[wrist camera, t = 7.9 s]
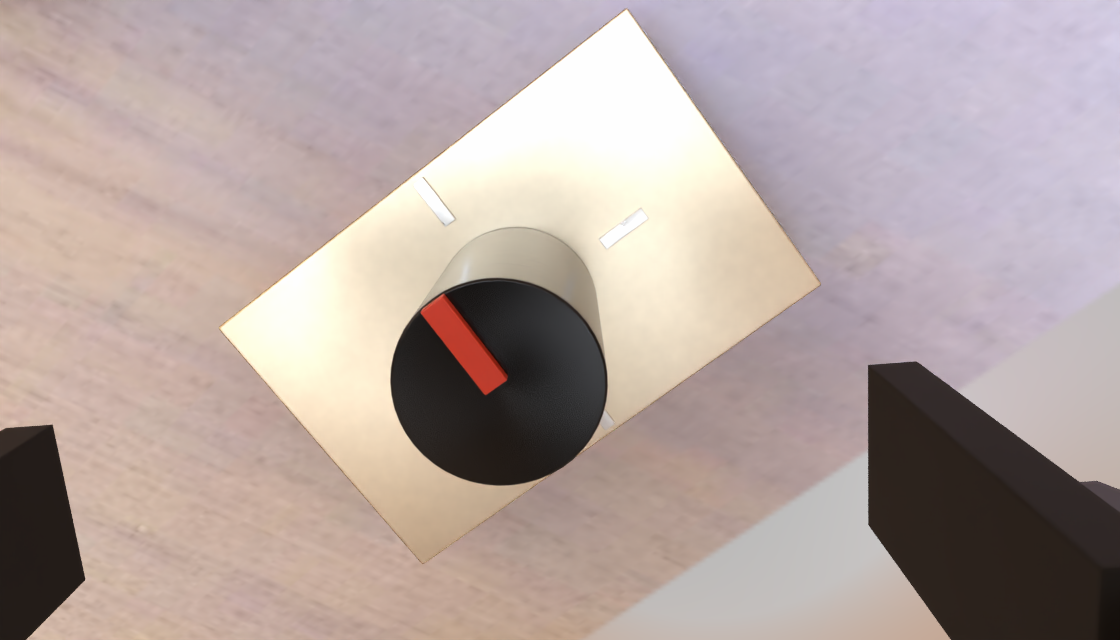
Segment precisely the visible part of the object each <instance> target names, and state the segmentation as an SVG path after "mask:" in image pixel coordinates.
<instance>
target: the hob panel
mask: <svg viewBox="0 0 1120 640" xmlns="http://www.w3.org/2000/svg"><path fill="white" fill-rule="evenodd" d="M517 227H519V228H529V229H534V230H538V231H541V232H544V233H547V234H550V235H551V236H553V237H555V238H557V239H559V240H561V241H562V242H563V243H565V244H566V245H568V246H569V247H570V248H571V249H572V250H573V251H574V252H575V253H576V254H577V255H578V256H579V257H580V259H581V260H582V261H583V263H584V264H585V266H586V267H587V269H588V271H589V273H590V275H591V277H592V279H593V282H594V286H595V289H596V295H597V301H598V308H599V315H600V322H601V330H602V337H603V344H604V351H605V359H606V366H607V373H608V392H607V401H606V405H605V409H604V413H603V416H602V418H601V421H600V423H599V426H598V428H597V430H596V431H595V433H594V435H593V437H592V438H591V440H590V441H589V442H588V444H587V445H586V446H585V448H584V449H583V450H582V451H581V452H580V453H579V454H581V453H582V452H584V451H585V450H587V449H588V448H589V447H591V446H592V445H594V444H595V443H597V442H598V441H599V440H601V439H602V438H604V437H605V436H607V435H608V434H609V433H611V432H612V431H614V430H615V429H617V428H618V427H619V426H621V425H622V424H624V423H625V422H626V421H628V420H629V419H631V418H632V417H634V416H635V415H636V414H638V413H639V412H641V411H642V410H644V409H645V408H646V407H648V406H649V405H651V404H652V403H654V402H655V401H656V400H658V399H659V398H661V397H662V396H664V395H665V394H666V393H668V392H669V391H671V390H672V389H674V388H675V387H676V386H678V385H679V384H681V383H682V382H683V381H685V380H686V379H688V378H689V377H691V376H692V375H693V374H695V373H696V372H698V371H699V370H701V369H702V368H703V367H705V366H706V365H708V364H709V363H711V362H712V361H713V360H715V359H716V358H718V357H719V356H721V355H722V354H723V353H725V352H726V351H728V350H729V349H731V348H732V347H733V346H735V345H736V344H738V343H739V342H740V341H742V340H743V339H745V338H746V337H748V336H749V335H750V334H752V333H753V332H755V331H756V330H758V329H759V328H760V327H762V326H763V325H765V324H766V323H768V322H769V321H770V320H772V319H773V318H775V317H776V316H778V315H779V314H780V313H782V312H783V311H785V310H786V309H787V308H789V307H790V306H792V305H793V304H795V303H796V302H797V301H799V300H800V299H802V298H803V297H805V296H806V295H807V294H809V293H810V292H812V291H813V290H815V289H816V288H817V287H819V286H820V285H821V283H820V281H819V280H818V278H817V277H816V275H815V274H814V273H813V271H812V270H811V268H810V267H809V265H808V264H807V263H806V261H805V260H804V258H803V257H802V256H801V254H800V253H799V251H798V250H797V248H796V247H795V246H794V244H793V243H792V241H791V240H790V238H789V237H788V236H787V234H786V233H785V231H784V230H783V229H782V227H781V226H780V224H779V223H778V221H777V220H776V219H775V217H774V216H773V214H772V213H771V211H770V210H769V209H768V207H767V206H766V204H765V203H764V202H763V200H762V199H761V197H760V196H759V194H758V193H757V192H756V190H755V189H754V187H753V186H752V184H751V183H750V182H749V180H748V179H747V177H746V176H745V175H744V173H743V172H742V170H741V169H740V167H739V166H738V165H737V163H736V162H735V160H734V159H733V157H732V156H731V155H730V153H729V152H728V150H727V149H726V148H725V146H724V145H723V143H722V142H721V140H720V139H719V138H718V136H717V135H716V133H715V132H714V130H713V129H712V128H711V126H710V125H709V123H708V122H707V121H706V119H705V118H704V116H703V115H702V113H701V112H700V111H699V109H698V108H697V106H696V105H695V103H694V102H693V101H692V99H691V98H690V96H689V95H688V93H687V92H686V91H685V89H684V88H683V86H682V85H681V84H680V82H679V81H678V79H677V78H676V76H675V75H674V74H673V72H672V71H671V69H670V68H669V66H668V65H667V64H666V62H665V61H664V59H663V58H662V57H661V55H660V54H659V52H658V51H657V49H656V48H655V47H654V45H653V44H652V42H651V41H650V39H649V38H648V37H647V35H646V34H645V32H644V31H643V30H642V28H641V27H640V25H639V24H638V22H637V21H636V20H635V18H634V17H633V15H632V14H631V12H630V11H629V10H628V9H627V8H626V9H624V10H623V11H622V12H620V13H619V14H618V15H617V16H615V17H614V18H613V19H611V20H610V21H609V22H608V23H606V24H605V25H604V26H603V27H601V28H600V29H599V30H597V31H596V32H595V33H594V34H592V35H591V36H590V37H588V38H587V39H586V40H585V41H583V42H582V43H581V44H580V45H578V46H577V47H576V48H574V49H573V50H572V51H571V52H569V53H568V54H567V55H566V56H564V57H563V58H562V59H560V60H559V61H558V62H557V63H555V64H554V65H553V66H551V67H550V68H549V69H548V70H546V71H545V72H544V73H543V74H541V75H540V76H539V77H537V78H536V79H535V80H534V81H532V82H531V83H530V84H528V85H527V86H526V87H525V88H523V89H522V90H521V91H520V92H518V93H517V94H516V95H514V96H513V97H512V98H511V99H509V100H508V101H507V102H506V103H504V104H503V105H502V106H500V107H499V108H498V109H497V110H495V111H494V112H493V113H491V114H490V115H489V116H488V117H486V118H485V119H484V120H483V121H481V122H480V123H479V124H477V125H476V126H475V127H474V128H472V129H471V130H470V131H469V132H467V133H466V134H465V135H463V136H462V137H461V138H460V139H458V140H457V141H456V142H454V143H453V144H452V145H451V146H449V147H448V148H447V149H446V150H444V151H443V152H442V153H440V154H439V155H438V156H437V157H435V158H434V159H433V160H431V161H430V162H429V163H428V164H426V165H425V166H424V167H423V168H421V169H420V170H419V171H417V172H416V173H415V174H414V175H412V176H411V177H410V178H409V179H407V180H406V181H405V182H403V183H402V184H401V185H400V186H398V187H397V188H396V189H394V190H393V191H392V192H391V193H389V194H388V195H387V196H386V197H384V198H383V199H382V200H380V201H379V202H378V203H377V204H375V205H374V206H373V207H372V208H370V209H369V210H368V211H366V212H365V213H364V214H363V215H361V216H360V217H359V218H357V219H356V220H355V221H354V222H352V223H351V224H350V225H349V226H347V227H346V228H345V229H343V230H342V231H341V232H340V233H338V234H337V235H336V236H335V237H333V238H332V239H331V240H329V241H328V242H327V243H326V244H324V245H323V246H322V247H320V248H319V249H318V250H317V251H315V252H314V253H313V254H312V255H310V256H309V257H308V258H306V259H305V260H304V261H303V262H301V263H300V264H299V265H297V266H296V267H295V268H294V269H292V270H291V271H290V272H289V273H287V274H286V275H285V276H283V277H282V278H281V279H280V280H278V281H277V282H276V283H275V284H273V285H272V286H271V287H269V288H268V289H267V290H266V291H264V292H263V293H262V294H260V295H259V296H258V297H257V298H255V299H254V300H253V301H252V302H250V303H249V304H248V305H246V306H245V307H244V308H243V309H241V310H240V311H239V312H238V313H236V314H235V315H234V316H232V317H231V318H230V319H229V320H227V321H226V322H225V323H223V324H222V325H221V326H220V327H219V330H220V331H221V332H222V333H223V334H224V336H225V337H226V338H227V339H228V340H229V341H230V342H231V344H232V345H233V346H234V347H235V348H236V349H237V351H238V352H239V353H240V354H241V355H242V356H243V357H244V359H245V360H246V361H247V362H248V363H249V364H250V366H251V367H252V368H253V369H254V370H255V371H256V373H257V374H258V375H259V376H260V377H261V378H262V379H263V381H264V382H265V383H266V384H267V385H268V386H269V388H270V389H271V390H272V391H273V392H274V393H275V394H276V396H277V397H278V398H279V399H280V400H281V401H282V403H283V404H284V405H285V406H286V407H287V408H288V410H289V411H290V412H291V413H292V414H293V415H294V416H295V418H296V419H297V420H298V421H299V422H300V423H301V425H302V426H303V427H304V428H305V429H306V430H307V431H308V433H309V434H310V435H311V436H312V437H313V438H314V440H315V441H316V442H317V443H318V444H319V445H320V447H321V448H322V449H323V450H324V451H325V452H326V453H327V455H328V456H329V457H330V458H331V459H332V460H333V462H334V463H335V464H336V465H337V466H338V467H339V468H340V470H341V471H342V472H343V473H344V474H345V475H346V477H347V478H348V479H349V480H350V481H351V482H352V484H353V485H354V486H355V487H356V488H357V489H358V490H359V492H360V493H361V494H362V495H363V496H364V497H365V499H366V500H367V501H368V502H369V503H370V504H371V505H372V507H373V508H374V509H375V510H376V511H377V512H378V514H379V515H380V516H381V517H382V518H383V519H384V520H385V522H386V523H387V524H388V525H389V526H390V527H391V529H392V530H393V531H394V532H395V533H396V534H397V536H398V537H399V538H400V539H401V540H402V541H403V542H404V544H405V545H406V546H407V547H408V548H409V549H410V551H411V552H412V553H413V554H414V555H415V556H416V557H417V559H418V560H419V561H420V562H421V563H422V564H424V563H426V562H427V561H428V560H430V559H431V558H433V557H434V556H436V555H437V554H438V553H440V552H441V551H443V550H444V549H446V548H447V547H448V546H450V545H451V544H453V543H454V542H455V541H457V540H458V539H460V538H461V537H463V536H464V535H465V534H467V533H468V532H470V531H471V530H473V529H474V528H475V527H477V526H478V525H480V524H481V523H483V522H484V521H485V520H487V519H488V518H490V517H491V516H493V515H494V514H495V513H497V512H498V511H500V510H501V509H503V508H504V507H505V506H507V505H508V504H510V503H511V502H512V501H514V500H515V499H517V498H518V497H520V496H521V495H522V494H524V493H525V492H527V491H528V490H530V489H531V488H532V487H534V486H535V485H537V484H538V483H540V482H541V481H542V480H544V479H545V478H547V477H548V476H550V475H551V474H550V475H548V476H545V477H543V478H541V479H538V480H535V481H531V482H528V483H523V484H517V485H507V486H494V485H484V484H479V483H474V482H470V481H467V480H464V479H461V478H458V477H456V476H454V475H452V474H450V473H448V472H446V471H444V470H442V469H441V468H439V467H438V466H436V465H435V464H433V463H432V462H431V461H430V460H428V459H427V458H426V457H425V456H424V455H423V454H422V453H421V452H420V451H419V450H418V449H417V448H416V447H415V446H414V445H413V443H412V442H411V440H410V439H409V438H408V436H407V435H406V433H405V432H404V430H403V428H402V426H401V424H400V422H399V420H398V417H397V414H396V412H395V409H394V405H393V401H392V396H391V386H390V373H391V364H392V359H393V354H394V351H395V348H396V345H397V342H398V340H399V338H400V336H401V334H402V332H403V330H404V328H405V327H406V325H407V324H408V322H409V321H410V320H411V318H412V317H413V315H414V314H415V312H416V311H417V309H418V308H419V306H420V305H421V304H422V302H423V301H424V299H425V298H426V296H427V295H428V293H429V292H430V290H431V289H432V287H433V286H434V285H435V283H436V282H437V280H438V279H439V277H440V276H441V274H442V273H443V271H444V270H445V268H446V267H447V266H448V264H449V263H450V261H451V260H452V258H453V257H454V256H455V255H456V254H457V253H458V251H459V250H460V249H462V248H463V247H464V246H465V245H466V244H467V243H469V242H470V241H472V240H474V239H475V238H477V237H479V236H481V235H483V234H485V233H488V232H491V231H494V230H498V229H504V228H517ZM579 454H578V455H579ZM578 455H577V456H578ZM577 456H576V457H577Z"/></svg>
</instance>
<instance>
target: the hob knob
mask: <svg viewBox="0 0 1120 640" xmlns="http://www.w3.org/2000/svg"><path fill="white" fill-rule="evenodd" d="M390 386H391V396H392V401H393V405H394V409H395V412H396V414H397V417H398V420H399V422H400V424H401V426H402V428H403V430H404V432H405V433H406V435H407V436H408V438H409V439H410V440H411V442H412V443H413V445H414V446H415V447H416V448H417V449H418V450H419V451H420V452H421V453H422V454H423V455H424V456H425V457H426V458H427V459H428V460H430V461H431V462H432V463H433V464H435V465H436V466H438V467H439V468H441V469H442V470H444V471H446V472H448V473H450V474H452V475H454V476H456V477H458V478H461V479H464V480H467V481H470V482H474V483H479V484H484V485H494V486H507V485H517V484H523V483H528V482H531V481H535V480H538V479H541V478H543V477H545V476H548V475H550V474H552V473H554V472H556V471H557V470H559V469H561V468H562V467H564V466H565V465H566V464H568V463H569V462H570V461H572V460H573V459H574V458H575V457H576V456H577V455H578V454H579V453H580V452H581V451H582V450H583V449H584V448H585V446H586V445H587V444H588V442H589V441H590V440H591V438H592V437H593V435H594V433H595V431H596V430H597V428H598V426H599V423H600V421H601V418H602V416H603V413H604V409H605V405H606V401H607V392H608V373H607V366H606V359H605V351H604V344H603V337H602V330H601V322H600V315H599V308H598V301H597V295H596V289H595V286H594V282H593V279H592V277H591V275H590V273H589V271H588V269H587V267H586V266H585V264H584V263H583V261H582V260H581V259H580V257H579V256H578V255H577V254H576V253H575V252H574V251H573V250H572V249H571V248H570V247H569V246H568V245H566V244H565V243H563V242H562V241H561V240H559V239H557V238H555V237H553V236H551V235H550V234H547V233H544V232H541V231H538V230H534V229H529V228H519V227H517V228H504V229H498V230H494V231H491V232H488V233H485V234H483V235H481V236H479V237H477V238H475V239H474V240H472V241H470V242H469V243H467V244H466V245H465V246H464V247H463V248H462V249H460V250H459V251H458V253H457V254H456V255H455V256H454V257H453V258H452V260H451V261H450V263H449V264H448V266H447V267H446V268H445V270H444V271H443V273H442V274H441V276H440V277H439V279H438V280H437V282H436V283H435V285H434V286H433V287H432V289H431V290H430V292H429V293H428V295H427V296H426V298H425V299H424V301H423V302H422V304H421V305H420V306H419V308H418V309H417V311H416V312H415V314H414V315H413V317H412V318H411V320H410V321H409V322H408V324H407V325H406V327H405V328H404V330H403V332H402V334H401V336H400V338H399V340H398V342H397V345H396V348H395V351H394V354H393V359H392V364H391V373H390Z"/></svg>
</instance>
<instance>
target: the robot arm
mask: <svg viewBox="0 0 1120 640" xmlns="http://www.w3.org/2000/svg"><path fill="white" fill-rule="evenodd" d="M868 465H869V466H868V474H869V475H868V484H869V485H868V486H869V487H868V494H869V495H868V497H869V499H868V506H869V507H868V515H869V517H868V518H869V523H868V525H869V526H870V528H871V529H872V530H873V532H874V533H875V535H876V536H877V537H878V539H879V540H880V542H881V543H882V544H883V546H884V547H885V549H886V550H887V551H888V553H889V554H890V555H891V557H892V558H893V560H894V561H895V562H896V564H897V565H898V566H899V568H900V569H901V571H902V572H903V574H904V575H905V576H906V578H907V579H908V581H909V582H910V583H911V585H912V586H913V587H914V589H915V590H916V592H917V593H918V594H919V596H920V597H921V598H922V600H923V601H924V603H925V604H926V605H927V607H928V608H929V610H930V611H931V612H932V614H933V615H934V617H935V618H936V619H937V621H938V622H939V624H940V625H941V626H942V628H943V629H944V630H945V632H946V633H947V635H948V636H949V637H950V639H951V640H1120V490H1119V489H1117V488H1114V487H1111V486H1109V485H1106V484H1103V483H1101V482H1098V481H1089V482H1079V481H1077V480H1076V479H1074V478H1073V477H1072V476H1070V475H1069V474H1067V473H1066V472H1065V471H1064V470H1062V469H1061V468H1060V467H1058V466H1057V465H1055V464H1054V463H1053V462H1051V461H1050V460H1049V459H1047V458H1046V457H1045V456H1043V455H1042V454H1041V453H1039V452H1038V451H1037V450H1035V449H1034V448H1033V447H1031V446H1030V445H1028V444H1027V443H1026V442H1025V441H1023V440H1022V439H1021V438H1019V437H1017V436H1016V435H1015V434H1014V433H1012V432H1011V431H1010V430H1008V429H1007V428H1006V427H1004V426H1003V425H1002V424H1000V423H999V422H998V421H996V420H995V419H994V418H992V417H991V416H989V415H988V414H987V413H985V412H984V411H983V410H981V409H980V408H979V407H977V406H976V405H975V404H973V403H972V402H971V401H969V400H968V399H966V398H965V397H964V396H962V395H961V394H960V393H958V392H957V391H956V390H954V389H953V388H952V387H950V386H949V385H948V384H946V383H945V382H944V381H942V380H941V379H940V378H938V377H937V376H935V375H934V374H933V373H931V372H930V371H929V370H927V369H926V368H925V367H923V366H922V365H921V364H919V363H918V362H903V363H890V364H876V365H868ZM84 581H85V576H84V571H83V566H82V561H81V557H80V552H79V547H78V542H77V538H76V533H75V528H74V524H73V519H72V514H71V509H70V505H69V500H68V495H67V491H66V486H65V481H64V476H63V472H62V467H61V462H60V457H59V453H58V448H57V443H56V439H55V434H54V429H53V425H42V426H29V427H15V428H5V429H4V430H2V431H0V640H26V639H27V638H28V637H29V636H30V635H31V634H32V633H33V632H34V631H35V630H36V629H37V628H38V627H39V626H40V625H41V624H42V623H43V622H44V621H45V620H46V619H47V618H48V617H49V616H50V615H51V614H52V613H53V612H54V611H55V610H56V609H57V608H58V607H59V606H60V605H61V604H62V603H63V602H64V601H65V600H66V599H67V598H68V597H69V596H70V595H71V594H72V593H73V592H74V591H75V590H76V589H77V588H78V587H79V586H80V585H81V584H82V583H83V582H84Z"/></svg>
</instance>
